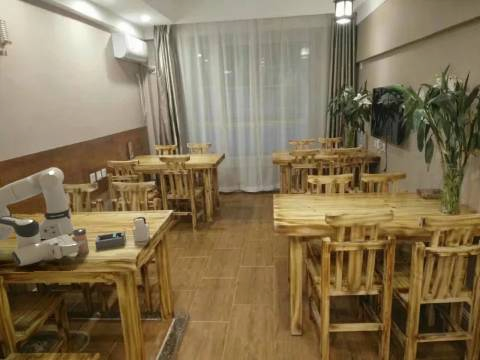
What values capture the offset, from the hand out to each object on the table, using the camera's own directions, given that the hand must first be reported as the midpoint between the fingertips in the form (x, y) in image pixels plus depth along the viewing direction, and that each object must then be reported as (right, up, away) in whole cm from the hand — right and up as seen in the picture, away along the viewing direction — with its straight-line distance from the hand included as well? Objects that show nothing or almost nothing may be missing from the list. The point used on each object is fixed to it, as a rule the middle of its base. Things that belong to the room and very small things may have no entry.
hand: (82, 239), depth 177 cm
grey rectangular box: (+11, -4, +11) cm, 16 cm away
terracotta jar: (0, -7, +1) cm, 7 cm away
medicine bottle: (+26, -2, +14) cm, 30 cm away
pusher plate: (+13, -2, +11) cm, 17 cm away
